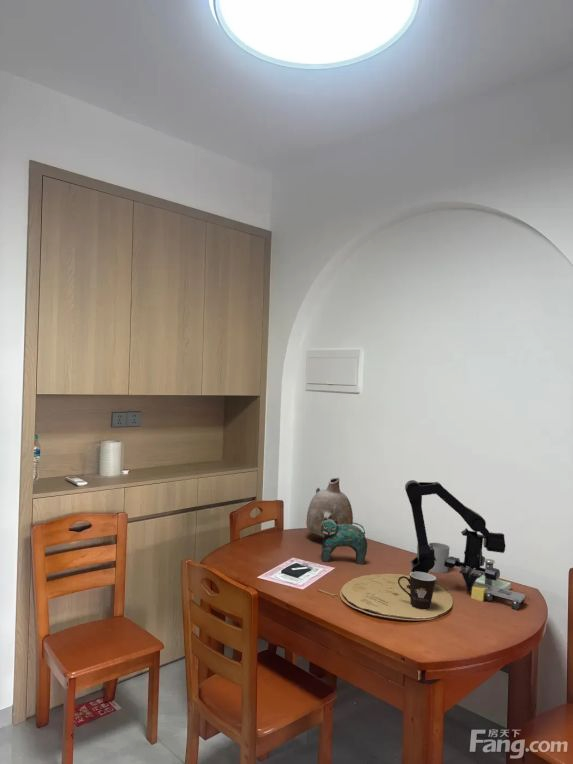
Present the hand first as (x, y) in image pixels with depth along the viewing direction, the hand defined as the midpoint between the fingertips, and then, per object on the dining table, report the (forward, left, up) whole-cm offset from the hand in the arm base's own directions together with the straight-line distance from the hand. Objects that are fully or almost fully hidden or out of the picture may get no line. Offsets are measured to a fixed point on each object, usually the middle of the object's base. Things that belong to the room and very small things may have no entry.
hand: (469, 591), depth 200 cm
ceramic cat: (-5, +51, -2) cm, 51 cm away
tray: (+14, -3, -1) cm, 15 cm away
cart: (+3, -12, -1) cm, 12 cm away
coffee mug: (-25, +10, -2) cm, 27 cm away
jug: (+17, +71, -2) cm, 73 cm away
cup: (+19, +19, -2) cm, 27 cm away
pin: (+14, -3, -1) cm, 15 cm away
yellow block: (0, -4, -1) cm, 4 cm away
